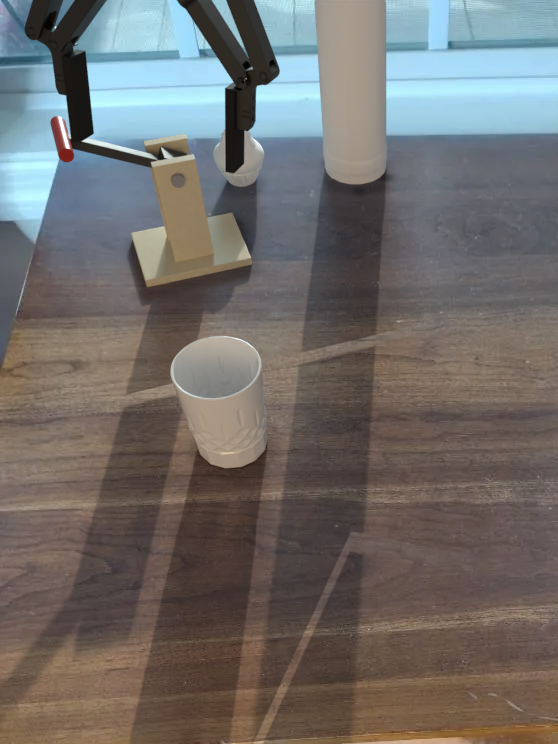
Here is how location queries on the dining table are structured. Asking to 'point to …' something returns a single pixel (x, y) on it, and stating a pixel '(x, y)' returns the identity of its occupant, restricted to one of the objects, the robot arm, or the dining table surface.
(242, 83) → the robot arm
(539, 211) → the dining table surface
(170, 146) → the bracket
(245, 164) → the muffin
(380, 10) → the bottle
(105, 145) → the lever
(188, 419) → the white cup
